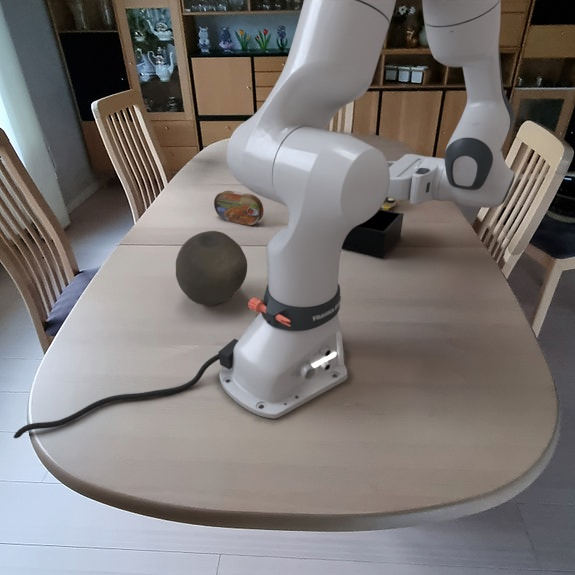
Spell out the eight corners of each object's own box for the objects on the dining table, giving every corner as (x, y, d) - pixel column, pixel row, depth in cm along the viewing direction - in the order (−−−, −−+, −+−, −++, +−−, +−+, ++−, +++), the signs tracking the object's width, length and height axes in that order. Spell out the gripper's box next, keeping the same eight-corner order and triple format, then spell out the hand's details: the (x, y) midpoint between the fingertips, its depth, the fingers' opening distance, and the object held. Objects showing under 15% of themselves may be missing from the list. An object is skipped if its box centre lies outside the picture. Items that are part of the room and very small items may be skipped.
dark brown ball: (184, 326, 87) (171, 259, 79) (179, 288, 98) (167, 225, 90) (255, 313, 90) (250, 247, 82) (242, 277, 101) (236, 216, 93)
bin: (400, 237, 116) (403, 213, 112) (382, 259, 107) (385, 233, 103) (345, 225, 123) (346, 202, 119) (324, 244, 114) (324, 219, 110)
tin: (215, 218, 128) (211, 190, 124) (221, 214, 131) (218, 186, 126) (260, 228, 122) (258, 199, 118) (265, 223, 125) (264, 195, 120)
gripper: (446, 151, 103) (388, 144, 110) (417, 178, 89) (353, 168, 95) (442, 177, 107) (386, 169, 113) (414, 208, 92) (352, 196, 98)
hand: (371, 169), depth 104 cm, fingers closed on bin lid, 5 cm apart
